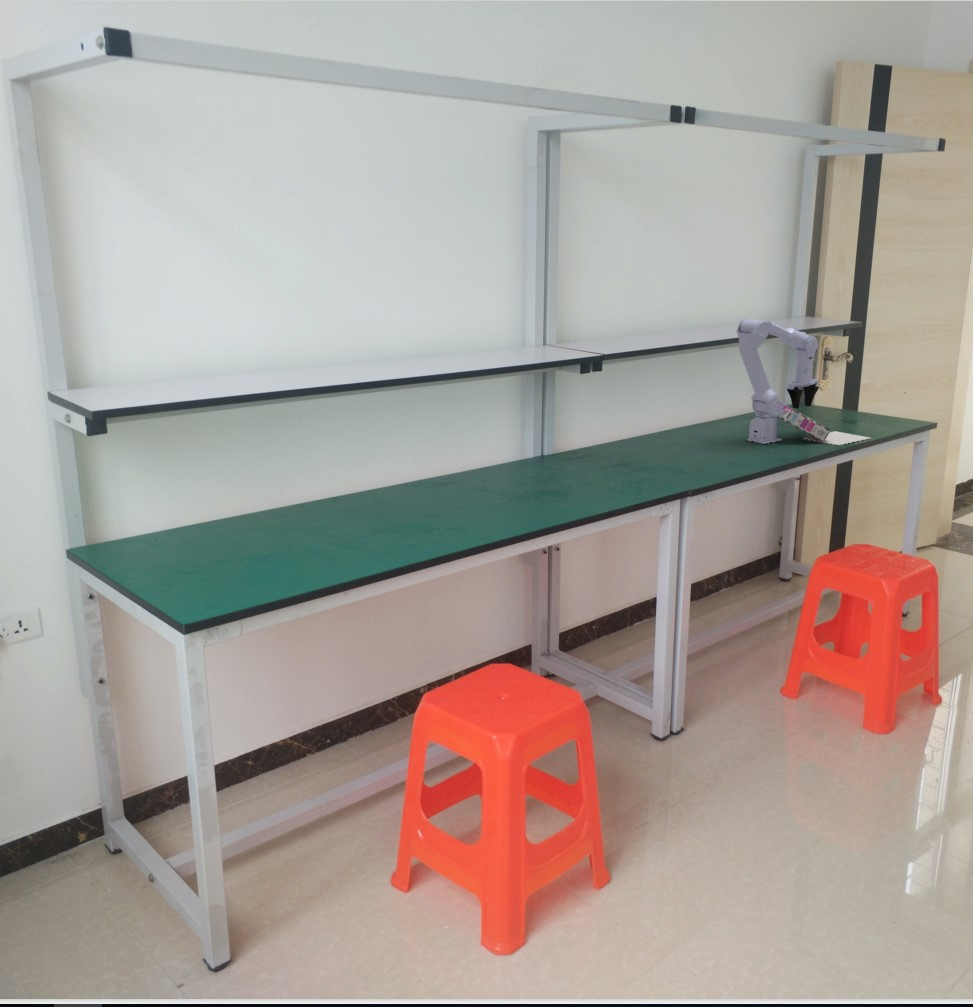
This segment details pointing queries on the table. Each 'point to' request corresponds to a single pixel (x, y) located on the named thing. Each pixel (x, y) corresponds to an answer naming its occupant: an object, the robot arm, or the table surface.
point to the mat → (839, 438)
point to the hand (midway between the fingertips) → (801, 407)
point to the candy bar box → (804, 423)
